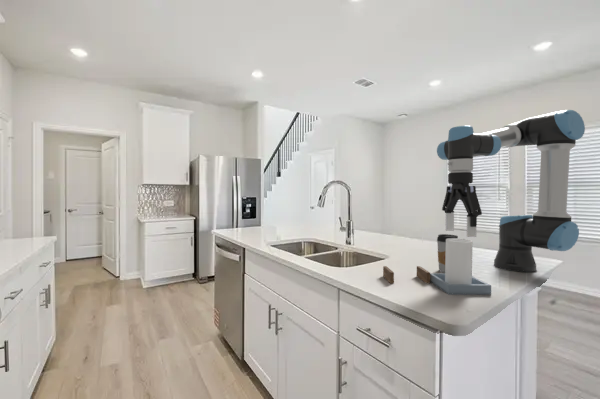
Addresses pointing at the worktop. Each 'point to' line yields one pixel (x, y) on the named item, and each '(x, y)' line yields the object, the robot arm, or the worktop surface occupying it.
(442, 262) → the coffee cup
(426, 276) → the clip rails
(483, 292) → the tray
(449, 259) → the cup
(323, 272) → the worktop surface
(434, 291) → the worktop surface
